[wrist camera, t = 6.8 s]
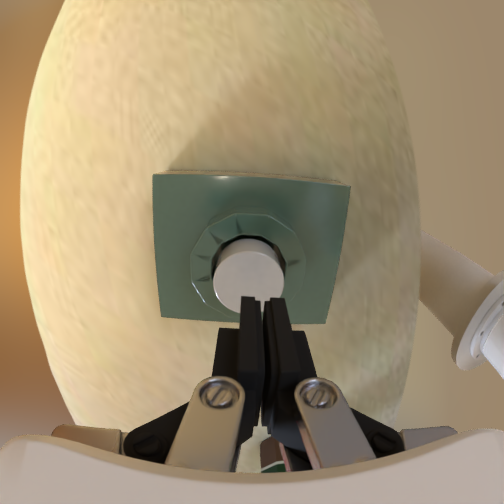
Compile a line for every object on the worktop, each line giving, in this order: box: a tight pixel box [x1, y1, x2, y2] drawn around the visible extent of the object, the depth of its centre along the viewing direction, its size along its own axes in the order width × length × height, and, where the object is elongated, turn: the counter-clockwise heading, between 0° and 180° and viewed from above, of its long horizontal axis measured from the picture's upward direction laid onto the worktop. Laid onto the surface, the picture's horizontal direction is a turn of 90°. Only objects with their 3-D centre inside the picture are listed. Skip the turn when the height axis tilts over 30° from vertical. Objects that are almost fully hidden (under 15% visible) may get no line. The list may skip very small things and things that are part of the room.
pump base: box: [153, 170, 351, 324], centre depth 17 cm, size 12×10×5 cm
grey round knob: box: [213, 239, 284, 313], centre depth 15 cm, size 4×4×2 cm
